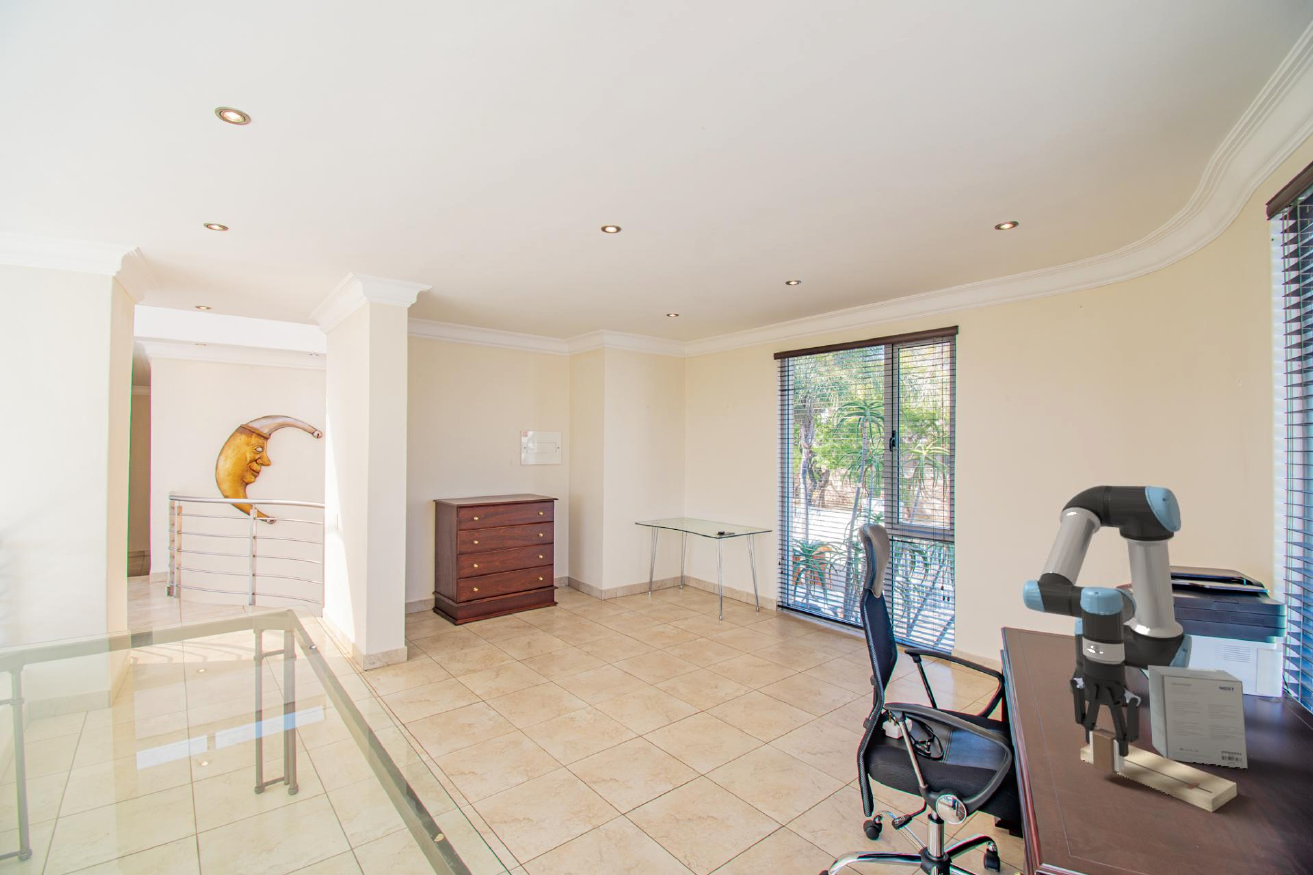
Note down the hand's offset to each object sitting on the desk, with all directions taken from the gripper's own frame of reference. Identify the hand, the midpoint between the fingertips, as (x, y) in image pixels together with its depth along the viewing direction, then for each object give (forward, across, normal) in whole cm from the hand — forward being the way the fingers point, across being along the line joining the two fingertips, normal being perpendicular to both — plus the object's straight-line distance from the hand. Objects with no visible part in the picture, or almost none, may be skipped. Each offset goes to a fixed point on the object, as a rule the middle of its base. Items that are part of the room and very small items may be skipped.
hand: (1107, 764), depth 133 cm
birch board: (+3, +4, +10) cm, 11 cm away
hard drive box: (+3, +5, +29) cm, 30 cm away
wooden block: (+1, 0, 0) cm, 1 cm away
